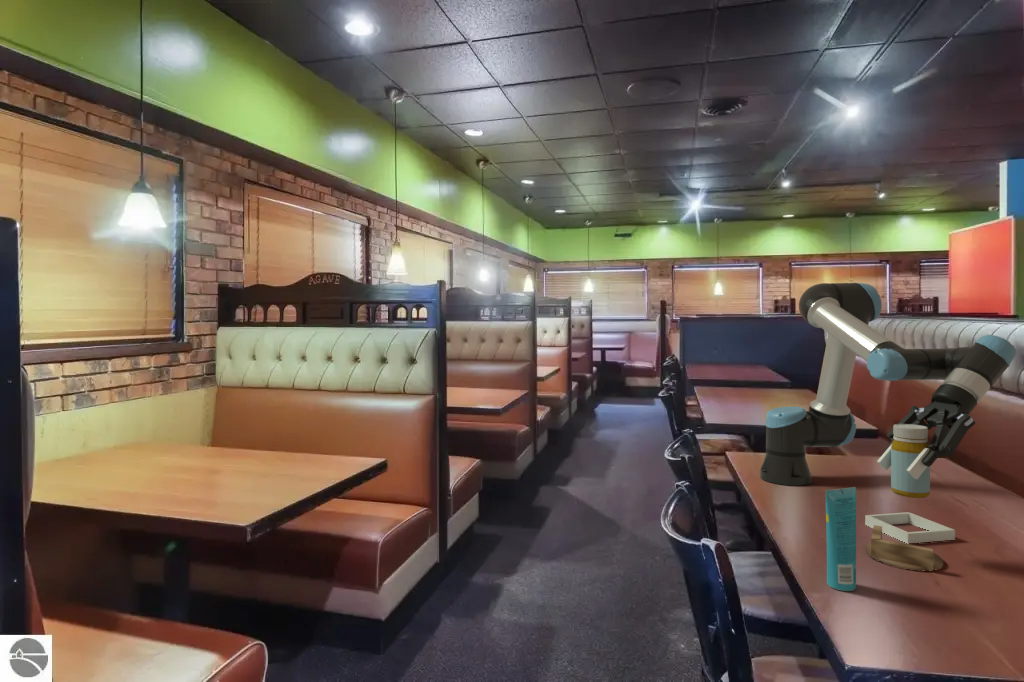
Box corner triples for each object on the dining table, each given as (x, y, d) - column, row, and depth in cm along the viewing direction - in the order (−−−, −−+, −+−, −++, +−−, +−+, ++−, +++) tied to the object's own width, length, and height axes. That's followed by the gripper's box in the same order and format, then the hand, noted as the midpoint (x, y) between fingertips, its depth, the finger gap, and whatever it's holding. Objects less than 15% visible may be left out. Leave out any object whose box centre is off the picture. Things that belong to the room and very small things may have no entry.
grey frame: (865, 525, 142) (865, 515, 142) (908, 521, 144) (908, 512, 144) (907, 544, 129) (908, 533, 129) (954, 540, 131) (955, 529, 131)
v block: (901, 541, 131) (901, 523, 131) (963, 569, 116) (964, 548, 116) (846, 546, 129) (846, 527, 129) (903, 575, 114) (903, 554, 113)
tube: (842, 577, 113) (843, 483, 112) (865, 587, 109) (866, 489, 108) (816, 584, 110) (817, 487, 110) (839, 595, 106) (839, 494, 105)
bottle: (922, 490, 126) (922, 424, 125) (935, 500, 119) (935, 429, 119) (886, 488, 128) (886, 423, 127) (897, 497, 121) (897, 428, 121)
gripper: (1016, 411, 116) (949, 494, 113) (928, 399, 135) (870, 470, 133) (995, 386, 115) (927, 470, 112) (910, 378, 134) (850, 449, 132)
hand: (896, 470), depth 123 cm, fingers closed on bottle, 7 cm apart
